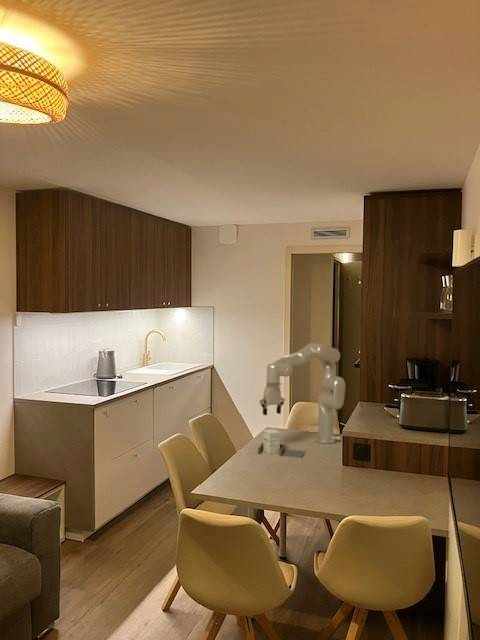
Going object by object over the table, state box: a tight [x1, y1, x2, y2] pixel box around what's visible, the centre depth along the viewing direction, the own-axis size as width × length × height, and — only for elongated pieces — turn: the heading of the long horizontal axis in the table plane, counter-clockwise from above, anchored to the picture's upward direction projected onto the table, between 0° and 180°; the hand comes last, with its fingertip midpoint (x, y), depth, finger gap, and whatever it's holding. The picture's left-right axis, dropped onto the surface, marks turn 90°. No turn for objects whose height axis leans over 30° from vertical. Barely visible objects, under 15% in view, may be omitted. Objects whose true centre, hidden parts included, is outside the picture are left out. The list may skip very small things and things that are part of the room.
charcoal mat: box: [282, 449, 306, 458], centre depth 310 cm, size 11×11×1 cm
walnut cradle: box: [257, 442, 286, 457], centre depth 313 cm, size 14×13×3 cm
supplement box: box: [262, 428, 281, 455], centre depth 313 cm, size 7×7×13 cm
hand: (271, 414), depth 312 cm, fingers open, 9 cm apart
